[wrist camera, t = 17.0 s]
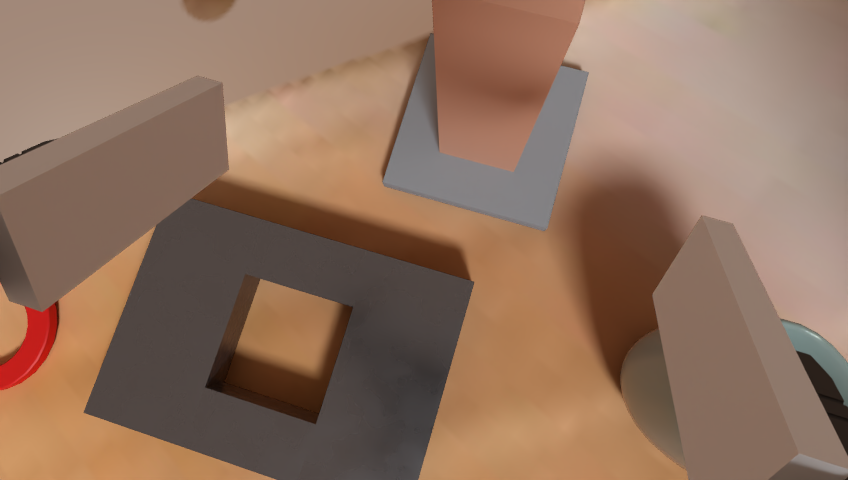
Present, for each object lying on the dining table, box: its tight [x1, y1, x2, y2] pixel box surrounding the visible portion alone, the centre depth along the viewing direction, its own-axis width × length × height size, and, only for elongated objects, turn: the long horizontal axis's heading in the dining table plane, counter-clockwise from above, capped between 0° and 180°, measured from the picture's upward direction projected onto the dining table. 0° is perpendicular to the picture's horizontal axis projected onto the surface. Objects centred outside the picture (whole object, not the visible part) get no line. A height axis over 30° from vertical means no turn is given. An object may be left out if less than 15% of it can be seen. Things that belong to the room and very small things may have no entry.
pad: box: [383, 33, 589, 231], centre depth 33 cm, size 11×11×1 cm
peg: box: [432, 0, 585, 172], centre depth 24 cm, size 5×5×16 cm
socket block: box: [84, 199, 474, 480], centre depth 30 cm, size 20×14×2 cm
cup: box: [620, 319, 848, 471], centre depth 25 cm, size 8×8×10 cm
